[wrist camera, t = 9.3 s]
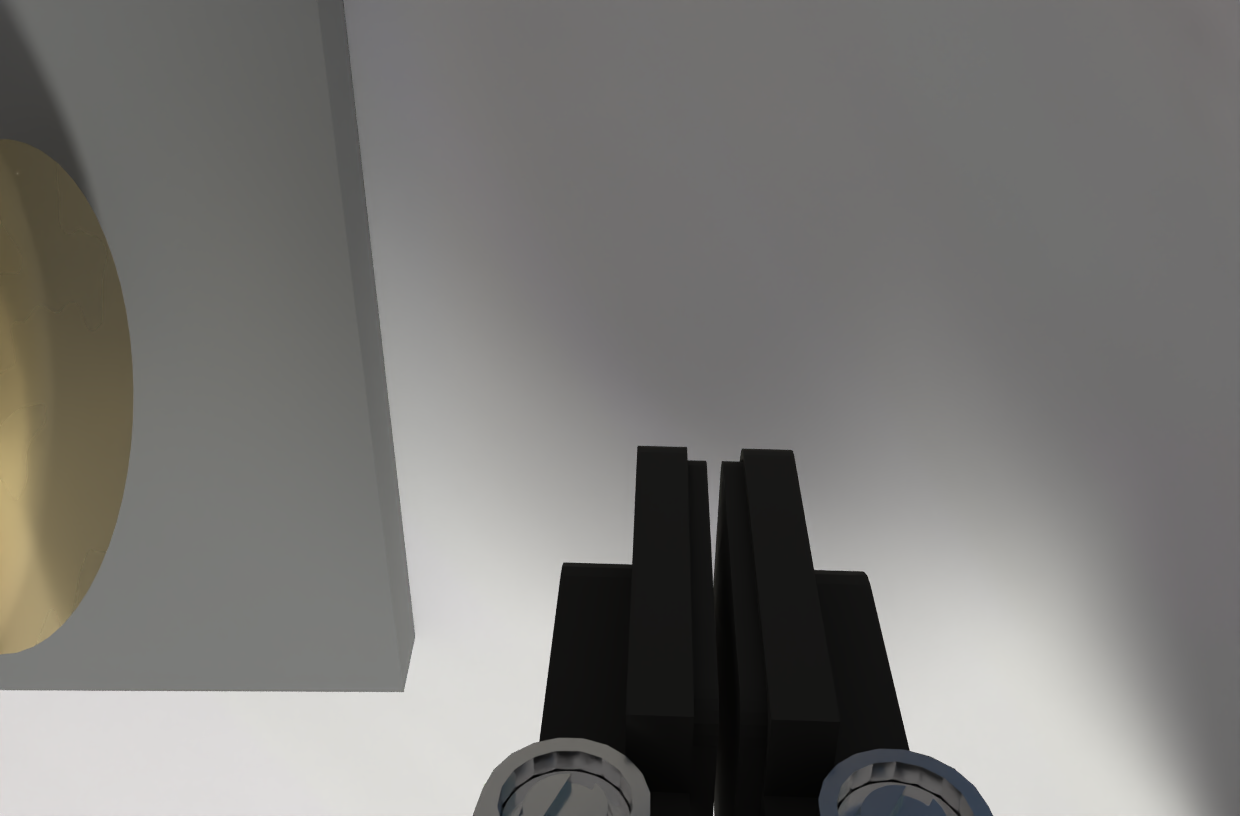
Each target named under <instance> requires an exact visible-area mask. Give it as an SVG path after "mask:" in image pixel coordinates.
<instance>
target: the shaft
mask: <svg viewBox="0 0 1240 816" xmlns="http://www.w3.org/2000/svg"><path fill="white" fill-rule="evenodd" d="M133 392H134V391H133V364H132V353H131V342H130V333H129V327H128V320H127V313H126V308H125V303H124V298H123V294H122V289H121V284H120V281H119V277H118V274H117V270H116V266H115V263H114V260H113V257H112V254H111V251H110V248H109V246H108V243H107V240H106V237H105V235H104V233H103V231H102V228H101V226H100V224H99V222H98V219H97V217H96V215H95V213H94V212H93V210H92V208H91V206H90V204H89V203H88V201H87V199H86V197H85V196H84V194H83V193H82V191H81V190H80V189H79V187H78V186H77V184H76V183H75V182H74V180H73V179H72V178H71V177H70V176H69V174H68V173H67V172H66V171H65V170H64V169H63V168H62V167H61V166H60V165H59V164H58V163H57V162H56V161H54V160H53V159H52V158H51V157H49V156H48V155H47V154H45V153H44V152H43V151H41V150H39V149H37V148H35V147H33V146H31V145H29V144H27V143H23V142H19V141H15V140H11V139H0V654H10V653H17V652H20V651H23V650H26V649H29V648H31V647H34V646H35V645H37V644H39V643H40V642H42V641H43V640H45V639H47V638H48V637H50V636H51V635H52V634H53V633H54V632H55V631H56V630H57V629H58V628H60V627H61V626H62V625H63V624H64V623H65V622H66V620H67V619H68V618H69V617H70V616H71V614H72V613H73V612H74V611H75V610H76V608H77V607H78V605H79V604H80V602H81V601H82V599H83V598H84V596H85V595H86V593H87V592H88V590H89V588H90V586H91V584H92V582H93V581H94V579H95V577H96V575H97V573H98V571H99V569H100V566H101V564H102V562H103V559H104V557H105V554H106V552H107V549H108V547H109V544H110V541H111V538H112V535H113V532H114V529H115V526H116V523H117V519H118V515H119V511H120V507H121V503H122V499H123V494H124V489H125V483H126V478H127V473H128V465H129V458H130V450H131V439H132V426H133Z"/></svg>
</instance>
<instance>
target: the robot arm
mask: <svg viewBox="0 0 1240 816" xmlns="http://www.w3.org/2000/svg"><path fill="white" fill-rule="evenodd" d="M713 807H714V814H715V816H993V815H992V813H991V810H990V808H989V806H988V805H987V803H986V802H985V801H984V799H983V798H982V796H981V795H980V793H979V792H978V790H977V789H976V787H975V786H974V785H973V784H972V783H970V782H969V781H968V780H967V779H966V778H965V777H963V776H962V775H961V774H960V773H959V772H957V771H956V770H955V769H954V768H952V767H950V766H948V765H946V764H944V763H942V762H940V761H938V760H936V759H934V758H932V757H930V756H926V755H923V754H919V753H915V752H912V751H909V746H908V742H907V738H906V734H905V729H904V725H903V721H902V717H901V712H900V708H899V704H898V700H897V696H896V691H895V687H894V683H893V679H892V674H891V670H890V666H889V662H888V658H887V653H886V649H885V645H884V641H883V636H882V632H881V628H880V624H879V619H878V615H877V611H876V607H875V603H874V598H873V594H872V590H871V586H870V582H869V579H868V576H867V575H866V574H865V573H864V572H859V571H826V570H814V567H813V562H812V556H811V550H810V544H809V538H808V533H807V527H806V521H805V515H804V510H803V504H802V498H801V492H800V487H799V481H798V475H797V469H796V464H795V458H794V453H793V451H792V450H772V449H742V450H741V456H740V462H728V461H722V464H721V475H720V490H719V506H718V522H717V538H716V553H715V569H714V585H713V574H712V555H711V536H710V517H709V497H708V478H707V462H706V461H692V460H687V447H663V446H638V447H637V469H636V492H635V515H634V538H633V561H632V565H628V564H595V563H563V565H562V571H561V577H560V585H559V592H558V600H557V608H556V616H555V624H554V631H553V639H552V647H551V655H550V663H549V671H548V678H547V686H546V694H545V702H544V710H543V717H542V725H541V733H540V741H539V742H536V743H533V744H530V745H528V746H526V747H524V748H522V749H520V750H518V751H516V752H514V753H512V754H511V755H509V756H508V757H507V758H506V759H505V760H504V761H503V762H502V763H500V764H499V765H498V766H497V767H496V768H495V769H494V770H493V772H492V773H491V775H490V777H489V779H488V780H487V782H486V784H485V785H484V787H483V789H482V792H481V794H480V797H479V800H478V803H477V805H476V808H475V811H474V813H473V816H713Z"/></svg>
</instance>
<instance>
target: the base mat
mask: <svg viewBox="0 0 1240 816" xmlns="http://www.w3.org/2000/svg"><path fill="white" fill-rule="evenodd" d="M0 139H11V140H15V141H19V142H23V143H27V144H29V145H31V146H33V147H35V148H37V149H39V150H41V151H43V152H44V153H45V154H47V155H48V156H49V157H51V158H52V159H53V160H54V161H56V162H57V163H58V164H59V165H60V166H61V167H62V168H63V169H64V170H65V171H66V172H67V173H68V174H69V176H70V177H71V178H72V179H73V180H74V182H75V183H76V184H77V186H78V187H79V189H80V190H81V191H82V193H83V194H84V196H85V197H86V199H87V201H88V203H89V204H90V206H91V208H92V210H93V212H94V213H95V215H96V217H97V219H98V222H99V224H100V226H101V228H102V231H103V233H104V235H105V237H106V240H107V243H108V246H109V248H110V251H111V254H112V257H113V260H114V263H115V266H116V270H117V274H118V277H119V281H120V284H121V289H122V294H123V298H124V303H125V308H126V313H127V320H128V327H129V333H130V342H131V353H132V364H133V391H134V392H133V426H132V439H131V450H130V458H129V465H128V473H127V478H126V483H125V489H124V494H123V499H122V503H121V507H120V511H119V515H118V519H117V523H116V526H115V529H114V532H113V535H112V538H111V541H110V544H109V547H108V549H107V552H106V554H105V557H104V559H103V562H102V564H101V566H100V569H99V571H98V573H97V575H96V577H95V579H94V581H93V582H92V584H91V586H90V588H89V590H88V592H87V593H86V595H85V596H84V598H83V599H82V601H81V602H80V604H79V605H78V607H77V608H76V610H75V611H74V612H73V613H72V614H71V616H70V617H69V618H68V619H67V620H66V622H65V623H64V624H63V625H62V626H61V627H60V628H58V629H57V630H56V631H55V632H54V633H53V634H52V635H51V636H50V637H48V638H47V639H45V640H43V641H42V642H40V643H39V644H37V645H35V646H34V647H31V648H29V649H26V650H23V651H20V652H17V653H10V654H0V690H89V691H306V692H404V687H405V682H406V678H407V673H408V668H409V663H410V659H411V654H412V649H413V644H414V639H415V632H414V623H413V614H412V605H411V596H410V587H409V579H408V570H407V561H406V552H405V543H404V535H403V526H402V517H401V508H400V499H399V490H398V482H397V473H396V464H395V455H394V446H393V438H392V429H391V420H390V411H389V402H388V393H387V385H386V376H385V367H384V358H383V349H382V341H381V332H380V323H379V314H378V305H377V296H376V288H375V279H374V270H373V261H372V252H371V244H370V235H369V226H368V217H367V208H366V199H365V191H364V182H363V173H362V164H361V155H360V147H359V138H358V129H357V120H356V111H355V102H354V94H353V85H352V76H351V67H350V58H349V49H348V41H347V32H346V23H345V14H344V5H343V0H0Z"/></svg>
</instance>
